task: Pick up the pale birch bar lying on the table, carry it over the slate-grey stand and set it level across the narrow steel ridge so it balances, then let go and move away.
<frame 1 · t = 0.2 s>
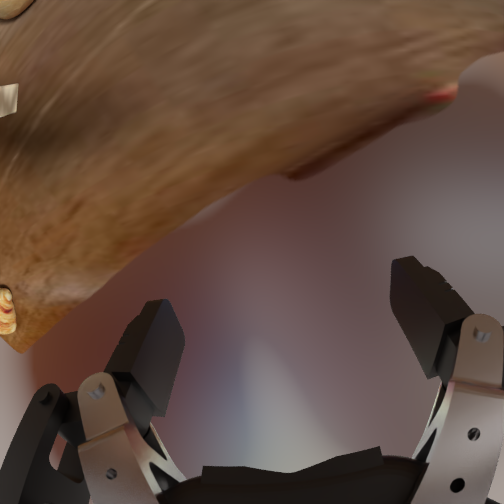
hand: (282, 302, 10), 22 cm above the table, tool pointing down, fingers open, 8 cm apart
croissant: (5, 306, 44), on the table
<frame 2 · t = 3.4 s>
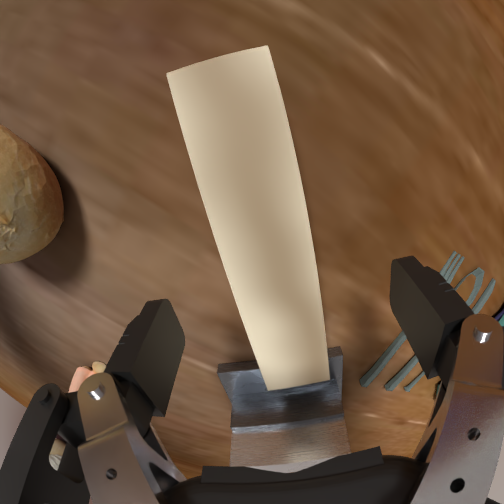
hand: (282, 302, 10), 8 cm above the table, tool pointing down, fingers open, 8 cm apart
birch bar: (267, 224, 17), on the table
bread roll: (12, 170, 15), on the table
grandmother figurine: (95, 371, 24), on the table
cutlery set: (482, 340, 23), on the table
ridge stand: (286, 391, 24), on the table
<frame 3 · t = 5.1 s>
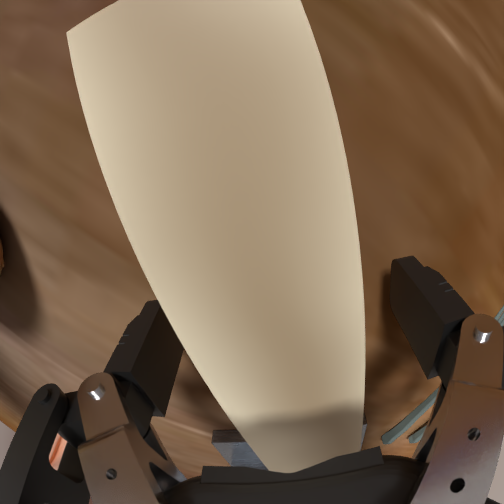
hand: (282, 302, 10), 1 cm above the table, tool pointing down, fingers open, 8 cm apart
birch bar: (278, 280, 11), on the table
grandmother figurine: (75, 419, 18), on the table
ridge stand: (294, 452, 18), on the table
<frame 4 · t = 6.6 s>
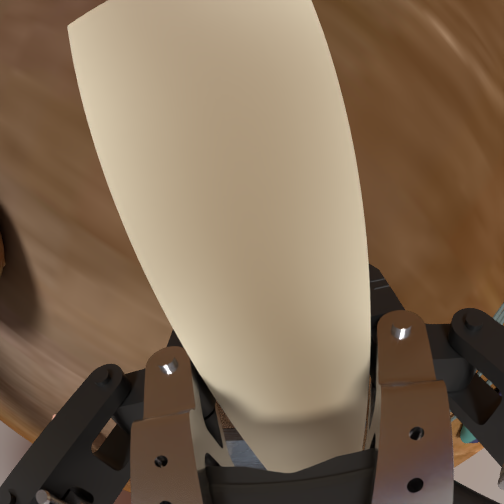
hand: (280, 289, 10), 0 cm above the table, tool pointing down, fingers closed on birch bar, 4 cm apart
birch bar: (280, 281, 11), on the table, touching gripper
ridge stand: (294, 450, 18), on the table
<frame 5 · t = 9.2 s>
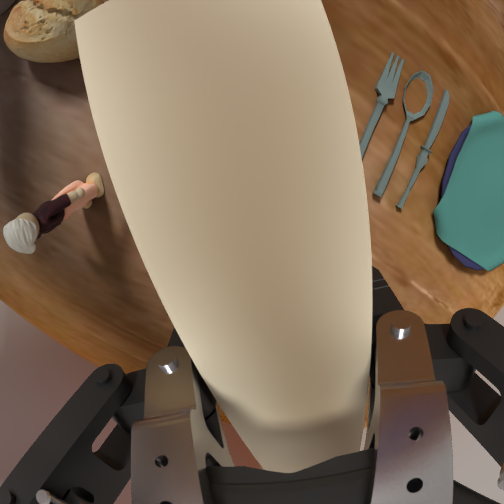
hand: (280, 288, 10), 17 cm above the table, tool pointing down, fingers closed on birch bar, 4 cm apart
birch bar: (280, 282, 11), point 17 cm above the table, touching gripper
bread roll: (68, 25, 18), on the table
grandmother figurine: (87, 192, 27), on the table
cutlery set: (467, 172, 25), on the table
when the fingers open (9 cm above the table, at t = 11.8 s): birch bar stays where it is, resting on ridge stand.
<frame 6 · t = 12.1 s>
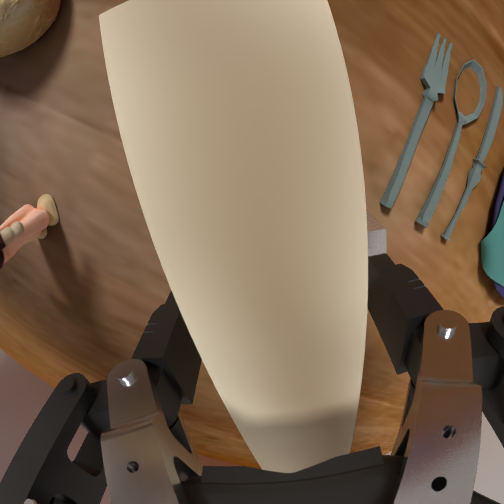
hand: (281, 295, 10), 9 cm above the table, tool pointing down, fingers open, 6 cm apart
birch bar: (279, 276, 11), point 8 cm above the table, touching ridge stand
bread roll: (21, 12, 10), on the table
grandmother figurine: (41, 219, 19), on the table
ridge stand: (272, 212, 18), on the table
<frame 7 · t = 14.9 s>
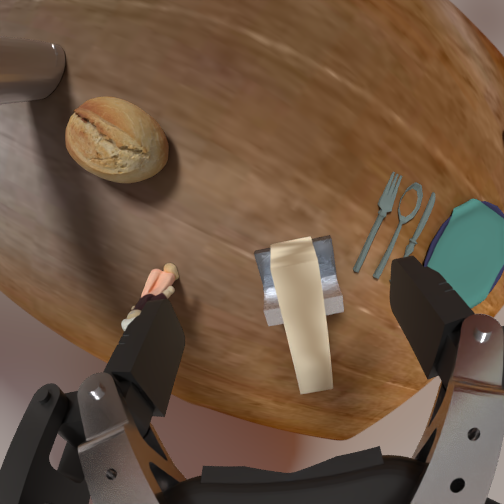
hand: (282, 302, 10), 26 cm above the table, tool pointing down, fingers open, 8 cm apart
birch bar: (304, 311, 31), point 8 cm above the table, touching ridge stand
bread roll: (125, 134, 32), on the table
grandmother figurine: (163, 275, 40), on the table
cutlery set: (447, 246, 36), on the table
ridge stand: (299, 275, 39), on the table
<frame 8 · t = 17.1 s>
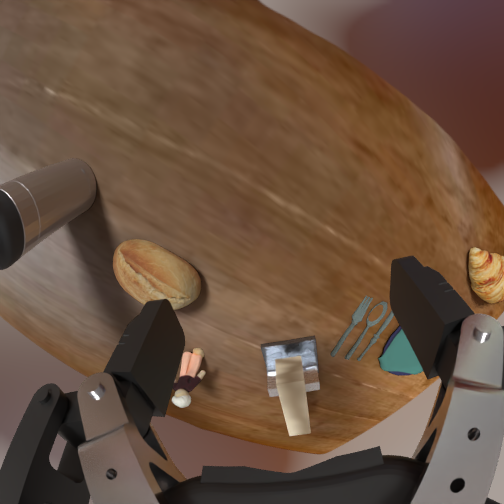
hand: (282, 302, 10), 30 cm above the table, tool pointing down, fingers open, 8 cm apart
birch bar: (294, 389, 45), point 8 cm above the table, touching ridge stand
bread roll: (162, 262, 44), on the table
grandmother figurine: (192, 354, 53), on the table
cutlery set: (404, 334, 50), on the table
ridge stand: (291, 357, 52), on the table
croissant: (486, 270, 43), on the table
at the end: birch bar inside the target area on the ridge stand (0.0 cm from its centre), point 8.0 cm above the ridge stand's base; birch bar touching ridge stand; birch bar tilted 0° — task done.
